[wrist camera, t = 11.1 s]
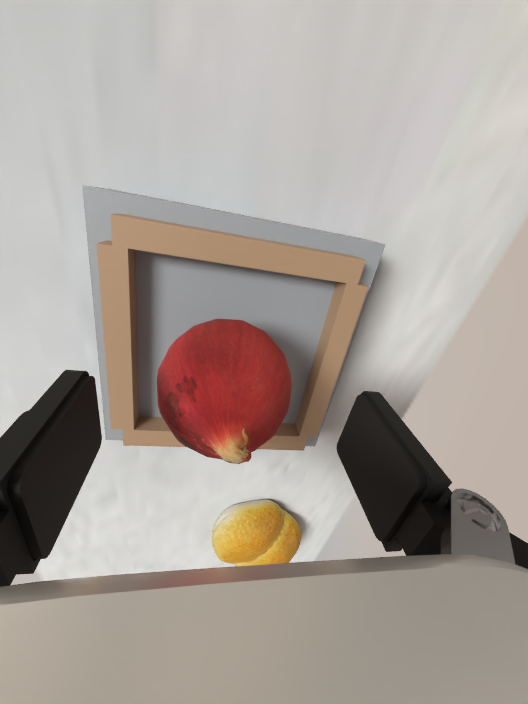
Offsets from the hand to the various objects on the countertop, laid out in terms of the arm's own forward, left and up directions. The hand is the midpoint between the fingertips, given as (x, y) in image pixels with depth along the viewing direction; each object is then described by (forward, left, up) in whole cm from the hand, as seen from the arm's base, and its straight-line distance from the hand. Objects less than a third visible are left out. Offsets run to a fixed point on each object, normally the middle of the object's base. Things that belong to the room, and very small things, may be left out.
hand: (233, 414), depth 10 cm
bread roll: (+22, +6, -10) cm, 25 cm away
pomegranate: (0, 0, -6) cm, 6 cm away
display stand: (+1, 0, -9) cm, 9 cm away
